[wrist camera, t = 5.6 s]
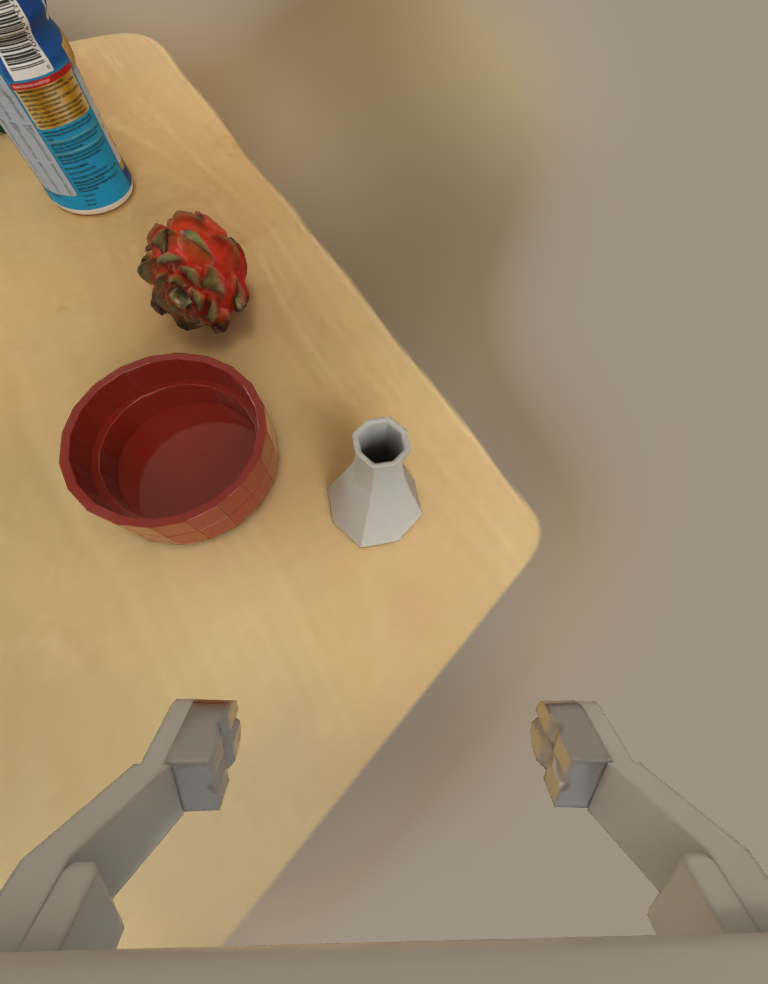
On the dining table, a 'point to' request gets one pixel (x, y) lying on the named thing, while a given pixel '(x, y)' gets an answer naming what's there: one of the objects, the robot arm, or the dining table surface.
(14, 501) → the dining table surface
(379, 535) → the flask
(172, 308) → the dragon fruit
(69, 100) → the beverage bottle
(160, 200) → the dining table surface
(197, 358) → the bowl
